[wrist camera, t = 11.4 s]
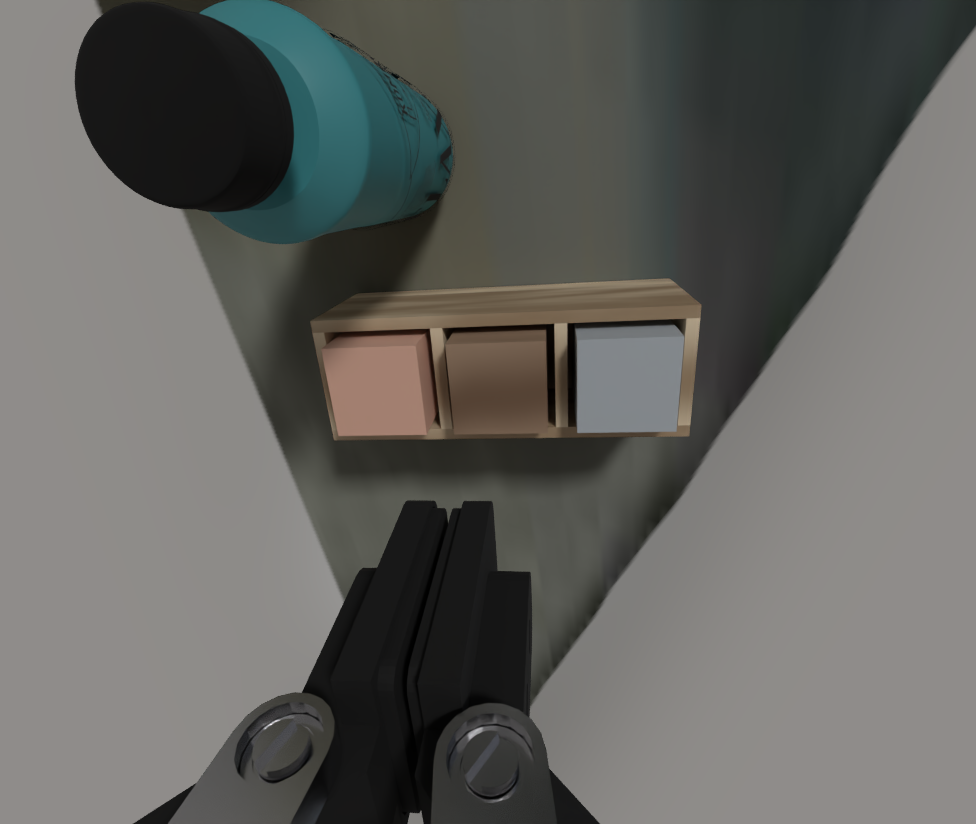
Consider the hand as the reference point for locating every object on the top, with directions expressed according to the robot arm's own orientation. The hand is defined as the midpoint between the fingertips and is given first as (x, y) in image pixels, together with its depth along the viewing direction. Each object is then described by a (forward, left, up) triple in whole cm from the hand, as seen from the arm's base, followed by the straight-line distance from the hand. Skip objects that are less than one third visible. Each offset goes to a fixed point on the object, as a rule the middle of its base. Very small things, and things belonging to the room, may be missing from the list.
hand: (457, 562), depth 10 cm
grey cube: (+2, +5, -20) cm, 21 cm away
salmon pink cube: (+2, -7, -20) cm, 21 cm away
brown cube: (+2, -1, -20) cm, 20 cm away
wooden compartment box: (+2, -1, -23) cm, 24 cm away
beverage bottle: (-9, -6, -24) cm, 26 cm away
